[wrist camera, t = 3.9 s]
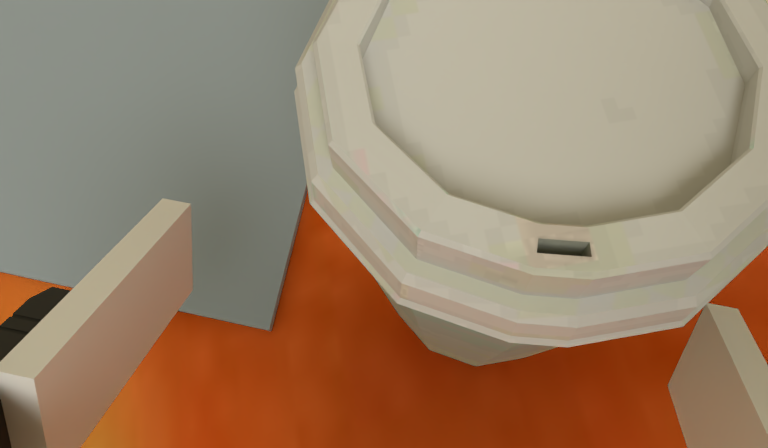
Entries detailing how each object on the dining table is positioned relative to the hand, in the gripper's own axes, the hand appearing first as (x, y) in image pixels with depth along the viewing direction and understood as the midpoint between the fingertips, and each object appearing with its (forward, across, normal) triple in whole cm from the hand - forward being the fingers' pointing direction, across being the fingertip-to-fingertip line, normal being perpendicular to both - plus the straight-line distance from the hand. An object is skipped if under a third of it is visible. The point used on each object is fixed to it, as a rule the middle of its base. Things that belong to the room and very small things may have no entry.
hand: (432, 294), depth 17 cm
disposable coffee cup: (+8, +2, -5) cm, 10 cm away
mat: (+13, -14, 0) cm, 19 cm away
